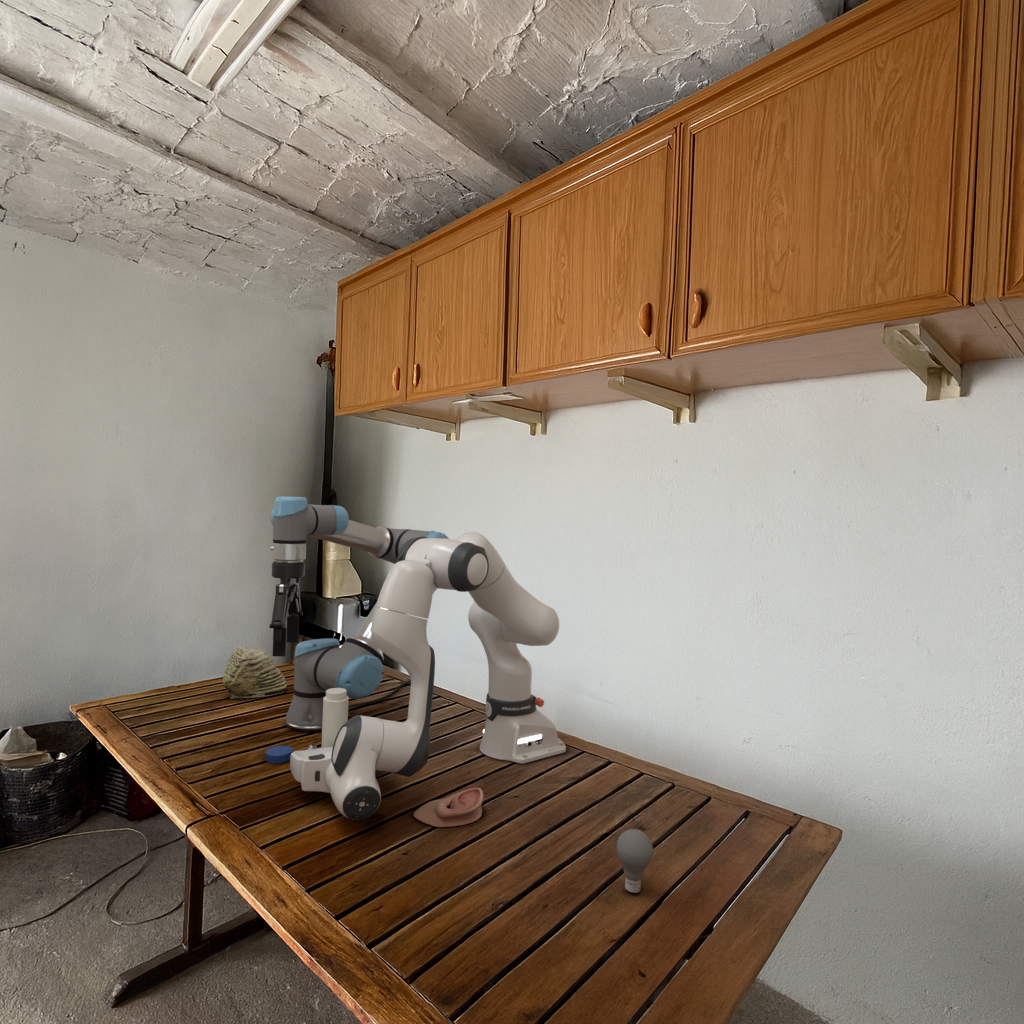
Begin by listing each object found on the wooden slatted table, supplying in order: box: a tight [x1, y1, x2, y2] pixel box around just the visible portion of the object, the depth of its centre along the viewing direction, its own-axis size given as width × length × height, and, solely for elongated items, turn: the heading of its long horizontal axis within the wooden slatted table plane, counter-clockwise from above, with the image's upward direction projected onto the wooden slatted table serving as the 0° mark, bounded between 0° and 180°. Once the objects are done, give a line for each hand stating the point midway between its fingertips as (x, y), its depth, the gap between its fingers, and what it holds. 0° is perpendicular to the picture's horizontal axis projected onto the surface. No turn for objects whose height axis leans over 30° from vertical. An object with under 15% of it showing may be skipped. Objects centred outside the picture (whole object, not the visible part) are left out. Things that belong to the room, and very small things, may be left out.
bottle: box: [320, 688, 350, 748], centre depth 144 cm, size 6×6×19 cm
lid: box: [265, 745, 294, 764], centre depth 152 cm, size 6×6×2 cm
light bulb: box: [615, 828, 654, 894], centre depth 106 cm, size 6×6×10 cm
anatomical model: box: [413, 787, 484, 828], centre depth 129 cm, size 13×4×12 cm
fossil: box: [222, 646, 288, 699], centre depth 198 cm, size 9×18×15 cm, turn 132°
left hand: (286, 649), depth 152 cm, fingers open, 13 cm apart
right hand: (333, 745), depth 144 cm, fingers open, 8 cm apart
